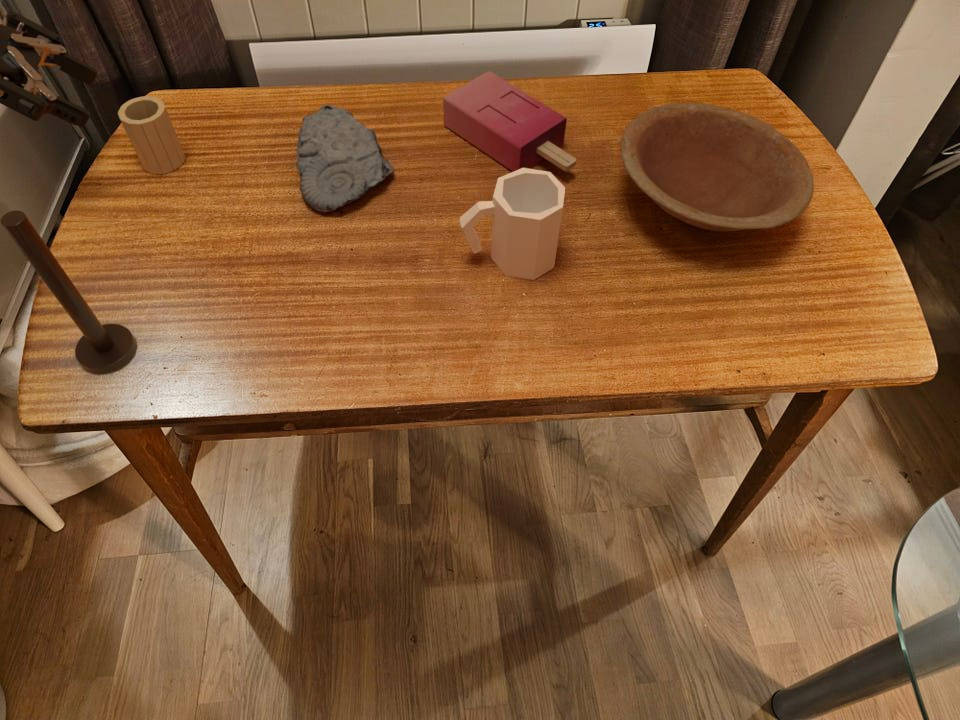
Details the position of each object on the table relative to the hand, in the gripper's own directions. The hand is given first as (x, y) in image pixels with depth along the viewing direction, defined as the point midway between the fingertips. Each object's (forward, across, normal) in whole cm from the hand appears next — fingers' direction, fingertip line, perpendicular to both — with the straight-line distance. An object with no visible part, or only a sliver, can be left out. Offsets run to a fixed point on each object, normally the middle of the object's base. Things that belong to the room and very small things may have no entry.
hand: (91, 98), depth 87 cm
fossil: (+28, -6, -13) cm, 32 cm away
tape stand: (+8, -32, +7) cm, 33 cm away
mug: (+41, -26, -26) cm, 55 cm away
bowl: (+60, -21, -45) cm, 78 cm away
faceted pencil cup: (+11, 0, +4) cm, 11 cm away
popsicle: (+45, -6, -30) cm, 54 cm away
